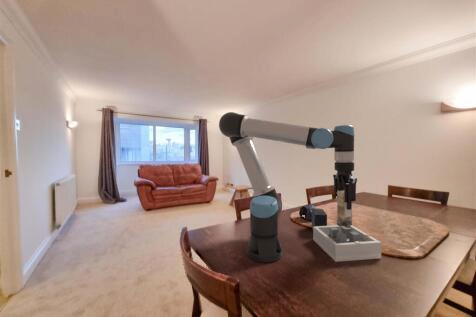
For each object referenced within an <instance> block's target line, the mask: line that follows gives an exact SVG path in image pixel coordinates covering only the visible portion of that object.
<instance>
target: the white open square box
mask: <svg viewBox="0 0 476 317" xmlns="http://www.w3.org/2000/svg"><path fill="white" fill-rule="evenodd" d="M330 227H336V228H337V229H338V230H339V233H341V227H345V226H338V225H337V224H336V225H334V224H333V225H327V226H315V227H313V229H312V233H313V234H312V237H313V238H312V239H313V241H314V242H315V244H317V245H318V246H319V247H320V248H321V249H322V250H323V252H325V253H327V255H328V256H329V257H330V258H331V259H332V260H333V261H334V262H336V263H337V262H349V261H351V262H352V261H362V260H374V259H376V260H377V259H382V241H379V240H378V239H376V238H374V236H371V234H370V233H369V234H367V232H364V231H363V230H361V229H359V228H357V227H356V226H355V225H353V224H352V225H351V228H350V229H351V232H357V233H358V234H360V240H361V242H359V241H356V242H350V243H336V242H335V241H334V240H332V239H331V238H330V237H329V236H328V235H329V228H330Z"/></svg>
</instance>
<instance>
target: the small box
mask: <svg viewBox="0 0 476 317" xmlns="http://www.w3.org/2000/svg"><path fill="white" fill-rule="evenodd" d="M315 226H328V215H327V213H326V211H324V209H323V208H322V209H321V208H316V209H312V220H311V229H312V230H313V227H315Z"/></svg>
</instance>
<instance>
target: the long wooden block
mask: <svg viewBox="0 0 476 317" xmlns="http://www.w3.org/2000/svg"><path fill="white" fill-rule="evenodd" d="M336 200H337V201H336V202H337V204H336V206H337V210H336V211H337V218H336V225H338V226H345V227H346V228H351V225H352V226H353V216H352V215H353V214H352V212H353V208H352V209H351V217H344V201H346V200H345V192H344V190H337V196H336Z"/></svg>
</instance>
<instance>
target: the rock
mask: <svg viewBox="0 0 476 317" xmlns="http://www.w3.org/2000/svg"><path fill="white" fill-rule="evenodd" d="M312 209H317V208H316V207H315V206H314V205H313V204H311V203H309V204H306V205H302V206H301V207H300V208H299V212H298V214H299V216H300V217H301V216H302V215H305V220H309V221H312ZM301 218H302V219H304V217H301Z"/></svg>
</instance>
